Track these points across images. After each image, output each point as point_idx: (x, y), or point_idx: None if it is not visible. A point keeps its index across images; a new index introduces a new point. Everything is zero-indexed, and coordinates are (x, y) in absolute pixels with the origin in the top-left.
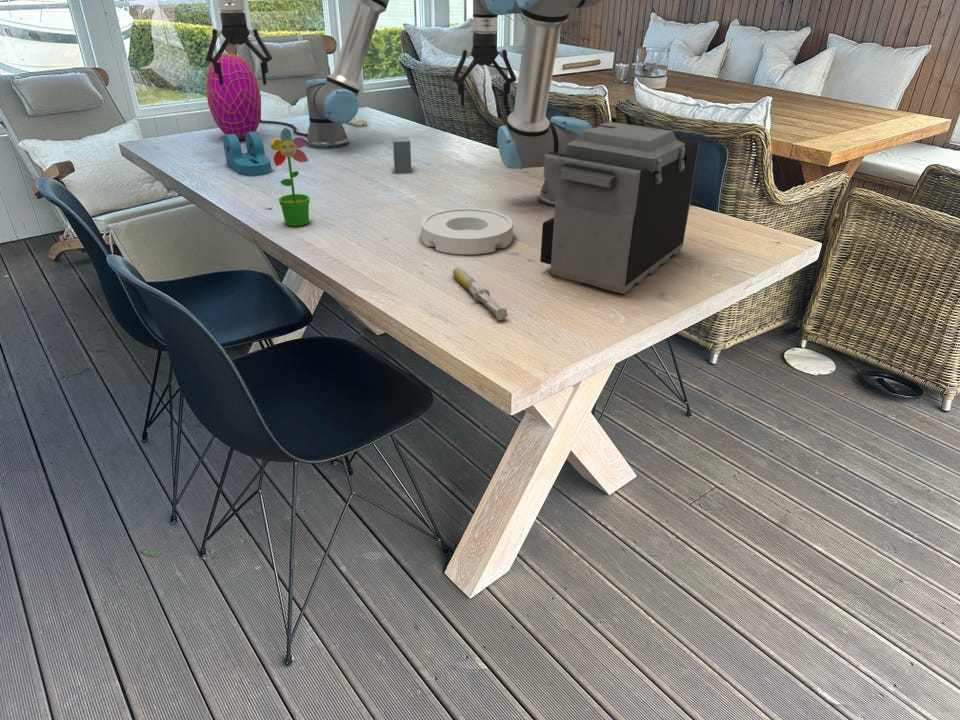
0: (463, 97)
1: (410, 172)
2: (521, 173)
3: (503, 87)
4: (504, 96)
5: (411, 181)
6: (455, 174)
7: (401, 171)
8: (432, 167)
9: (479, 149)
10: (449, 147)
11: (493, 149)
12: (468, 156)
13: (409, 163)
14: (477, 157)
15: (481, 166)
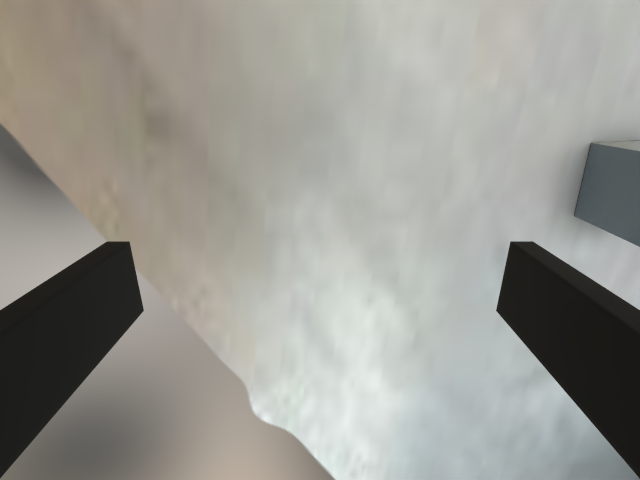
0: (564, 276)
1: (595, 143)
2: (171, 108)
3: (34, 422)
4: (70, 280)
5: (629, 12)
6: (430, 111)
7: (634, 141)
8: (494, 213)
9: (303, 404)
10: (391, 426)
11: (260, 402)
12: (347, 335)
13: (626, 146)
14: (319, 323)
15: (317, 216)
